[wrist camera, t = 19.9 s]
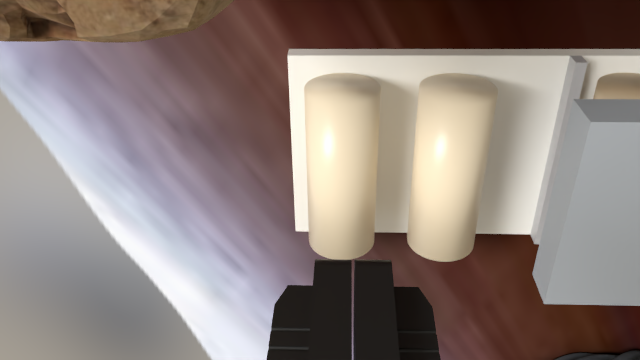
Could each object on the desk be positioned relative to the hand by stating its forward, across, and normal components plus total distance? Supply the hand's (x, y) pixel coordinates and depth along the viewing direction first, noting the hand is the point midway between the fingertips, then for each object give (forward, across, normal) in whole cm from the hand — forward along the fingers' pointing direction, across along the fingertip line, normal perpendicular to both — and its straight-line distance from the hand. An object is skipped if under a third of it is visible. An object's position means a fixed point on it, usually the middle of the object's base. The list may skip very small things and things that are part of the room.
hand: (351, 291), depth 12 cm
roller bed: (+23, -10, +10) cm, 27 cm away
